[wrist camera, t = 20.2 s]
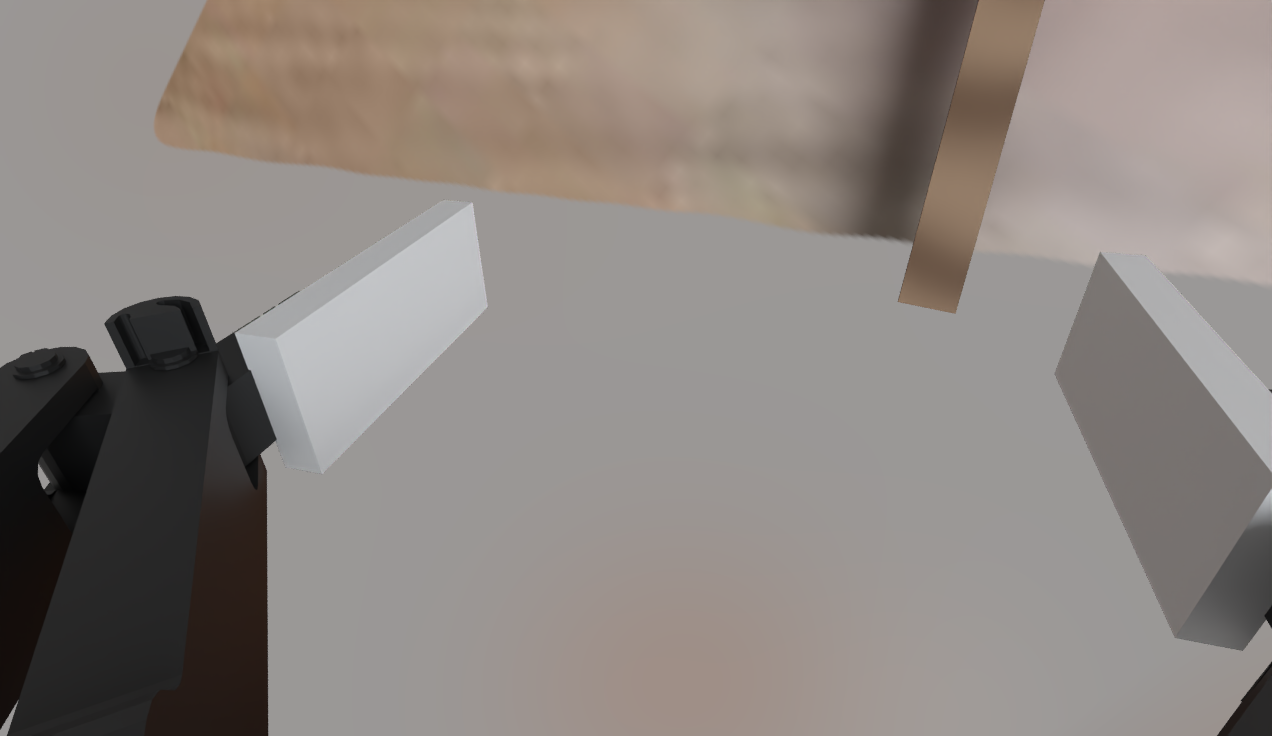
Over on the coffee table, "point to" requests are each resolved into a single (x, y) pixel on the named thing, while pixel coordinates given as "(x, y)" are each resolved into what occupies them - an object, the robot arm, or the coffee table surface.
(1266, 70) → the coffee table surface
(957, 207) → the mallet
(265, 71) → the coffee table surface
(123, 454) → the robot arm
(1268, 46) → the coffee table surface
